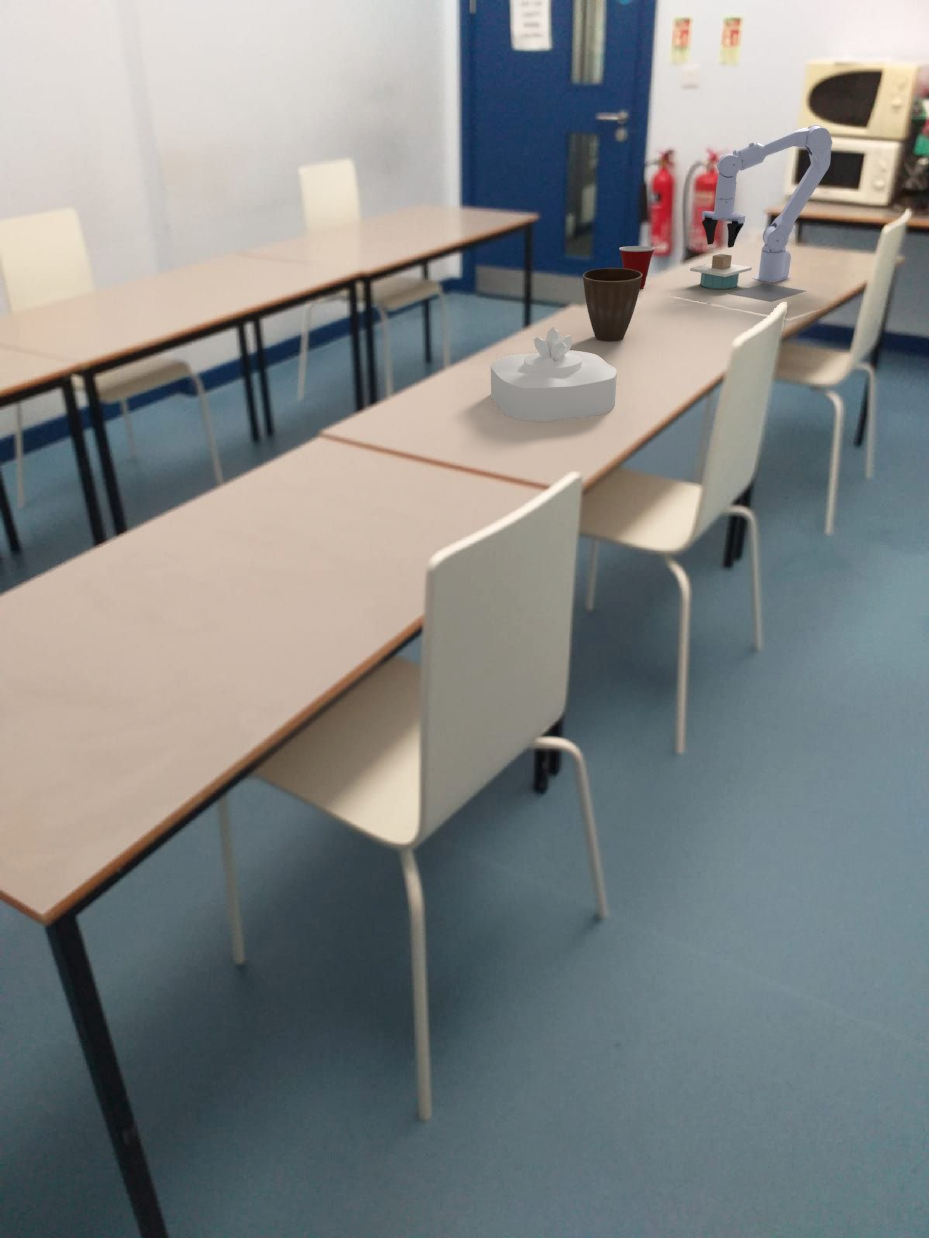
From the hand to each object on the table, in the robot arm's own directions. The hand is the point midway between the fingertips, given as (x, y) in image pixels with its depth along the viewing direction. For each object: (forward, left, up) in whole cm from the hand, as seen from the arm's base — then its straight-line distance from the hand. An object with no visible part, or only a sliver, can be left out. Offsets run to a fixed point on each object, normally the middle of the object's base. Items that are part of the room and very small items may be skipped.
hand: (720, 245), depth 300 cm
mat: (+5, +22, -10) cm, 25 cm away
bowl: (+7, +6, -10) cm, 14 cm away
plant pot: (+72, +20, -11) cm, 75 cm away
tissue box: (+118, +45, -11) cm, 126 cm away
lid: (+7, +6, -6) cm, 11 cm away
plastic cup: (+24, -13, -11) cm, 29 cm away
